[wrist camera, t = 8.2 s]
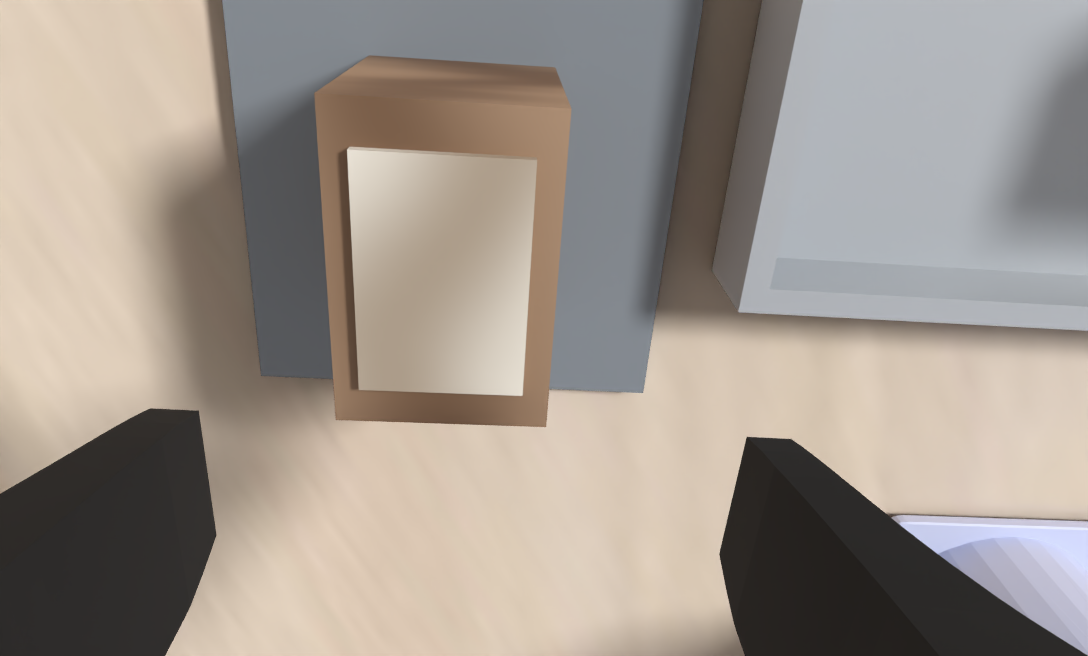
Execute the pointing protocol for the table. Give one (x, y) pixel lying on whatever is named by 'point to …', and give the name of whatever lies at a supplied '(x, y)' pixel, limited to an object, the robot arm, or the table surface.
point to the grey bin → (913, 164)
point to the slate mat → (487, 37)
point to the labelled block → (442, 238)
